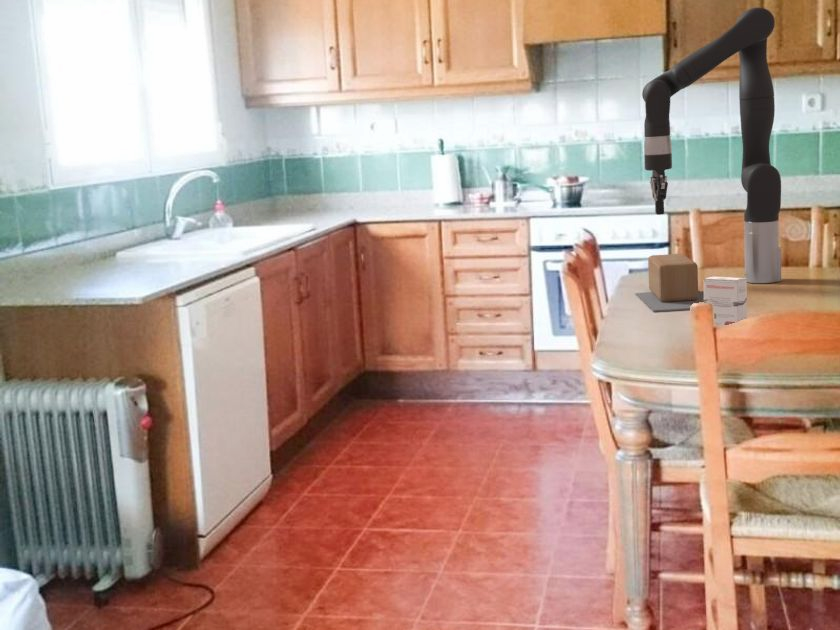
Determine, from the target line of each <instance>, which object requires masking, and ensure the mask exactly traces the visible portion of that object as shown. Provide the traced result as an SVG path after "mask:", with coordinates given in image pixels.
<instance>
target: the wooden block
mask: <svg viewBox="0 0 840 630" xmlns="http://www.w3.org/2000/svg"><path fill="white" fill-rule="evenodd" d="M647 260H648V261H647V262H648V265H647V266H648V289H649V290H650V292H652V293H653V294H654V295H655V296H656V297H657V298H658V299H659V300H660V301H662V302H674V301H692V300H696V299H697V298H698V290H699V271H698V270H699V269H698V266H699V265H698V263H697V262H695V261H694V260H693V259H691V258H689V257H687V255H685V254H683V253H672V254H669V253H668V254H654V255H653V254H651V255H650V256H649V257H648V258H647Z"/></svg>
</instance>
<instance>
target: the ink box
mask: <svg viewBox="0 0 840 630" xmlns="http://www.w3.org/2000/svg"><path fill="white" fill-rule="evenodd" d="M747 285H748V282H747V278H745V277H728V276H708V277H706V278H704V279H703V294H704V303H710V304H712V306H713V309H714V319H715V325H716V326H723V325H729V324H732V323H735V322H738V321H740V320H743V319H746V318H747V319H748V311H747V310H748V305H747V304H748V303H747V302H748V294H747V292H748V291H747V290H748V286H747Z"/></svg>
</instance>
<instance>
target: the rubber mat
mask: <svg viewBox="0 0 840 630" xmlns="http://www.w3.org/2000/svg"><path fill="white" fill-rule="evenodd" d="M634 295H635V296H636V297H637V296H638V297H639V298H640V299H639V298H638V297H637V298H638V299H639V300H640V301H641V300H642V301H643V302H644V303H645V304H646V305H645V304H644V303H643V302H642V301H641V302H642V303H643V304H644V305H645V306H646V307H647V308H649V309H650V310H651V311H652V312H653V313H661V312H662V313H663V312H665V313H666V312H678V311H679V312H681V311H691V310H690V306H691V305H692V304H693V303H699V302H704V292H702V291H700V290H699V289H698V298H697V299H696V300H692V301H674V302H662V301H660V300H659V299H658V298H657V297H656V296H655V295H654V294H653V293H652V292H651V291H649V292H636V293H635V294H634Z"/></svg>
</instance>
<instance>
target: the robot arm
mask: <svg viewBox="0 0 840 630" xmlns="http://www.w3.org/2000/svg"><path fill="white" fill-rule="evenodd" d="M774 28H775V17H774V15H773V14H772V12H771V11H770V10H768V9H767V8H765V7H752V8H750V9H748V10H745V11H744V12H742V13H741V14H740V15H739V16H738V18H737V20H736V22H735V23H734V25H733V26H731V27H730V28H729V29H727V31H725V32H723V34H721V35H720V36H719V37H717V38H715V39H714V40H712V41H710V42H709V43H707V44H705V45H703V46H701V48H698V49H696V50H695V51H693V52H692V53H690V54H689V55H687V56H685V57H684V58H682V59H681V60H680V61H678V62H677V63H676V64H675V65H673V66H672V67H670V68H669V70H667V71H665V72H663V73H662V74H659V75H658V76H657V77H655V78H654V79H651V80H650V81H649V82H647V83H646V84H645V85H644V87H643V89H642V93H641V96H642V99H643V101H644V103H645V118H644V129H643V130H644V144H643V150H644V151H643V154H644V155H643V156H644V157H643V159H644V170H646V171H648V172H649V171H652V173H651V176H650V182H649V183H650V186H651V187H650V189H651V195H652V198H653V201H654V212H655V214H656V215H664V214H665V201H666V198H667V193H668V186H669V183H668V176H667V175H666V172H665V171H666V170H671V169H672V168H673V155H672V153H673V152H672V151H673V150H672V149H673V148H672V139H671V122H670V113H671V97H673V96H674V95H676V94H677V93H679V92H680V91H682V90H683V89H686V88H688V87H689V86H691V85H692V84H694V83H695V82H697V81H698V80H700V79H701V78H703V77H704V76H706V75H707V74H708V73H710V72H711V71H713V70H714V69H715V68H716V67H718V66H719V65H721V64H722V63H723V62H725V61H727V59H729V58H731V57H732V56H734V55H735V54H737V53H738V54H739V55H738V56H739V79H738V82H739V85H738V86H739V93H738V94H739V95H738V97H739V98H738V99H739V116H740V131H741V133H740V134H741V140H742V157H741V158H742V159H741V160H742V162H741V175H740V182H741V185H742V188H743V189H744V191H745V192H746V194H747V195H746V197H747V199H746V201H747V202H746V209H745V211H744V215H743V222H744V223H743V226H744V228H743V230H744V231H743V232H744V278H747V283H750V284H769V283H776V282H782V248H781V247H780V244H779V243H780V240H779V239H780V238H779V236H780V233H779V232H780V231H779V230H780V229H779V227H780V226H779V225H780V224H779V221H780V220H779V219H780V218H779V214H780V212H781V211H780V210H781V206H782V205H781V204H782V202H781V201H782V179H781V174H780V172H779V170H778V169H777V168H776V167H775V166H773V165H772V164H771V156H770V155H771V153H770V142H771V141H770V140H771V136H772V132H773V126H774V121H775V106H776V105H775V90H774V83H773V81H772V76H771V73H770V69H769V66H768V58H767V57H768V55H767V52H768V51H767V50H768V46H767V45H768V38H769V37H770V35H772V33H773V31H774Z"/></svg>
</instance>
